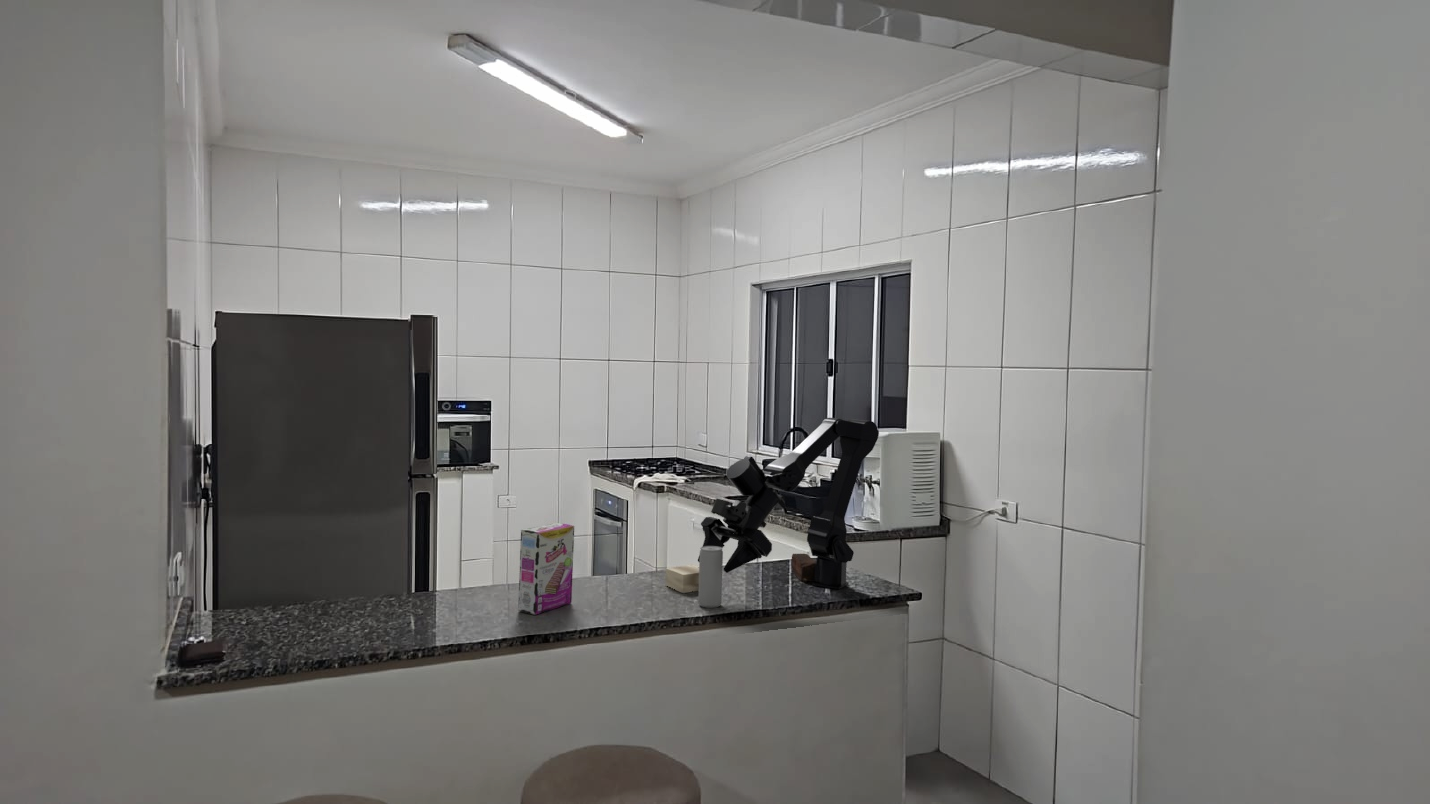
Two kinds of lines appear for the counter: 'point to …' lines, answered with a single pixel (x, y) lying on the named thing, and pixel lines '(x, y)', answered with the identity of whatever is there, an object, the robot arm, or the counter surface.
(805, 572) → the brick
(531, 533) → the candy bar box
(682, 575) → the maple block
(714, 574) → the beverage can
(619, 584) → the counter surface
